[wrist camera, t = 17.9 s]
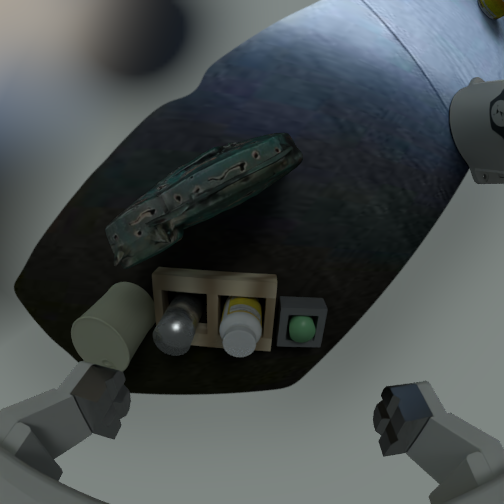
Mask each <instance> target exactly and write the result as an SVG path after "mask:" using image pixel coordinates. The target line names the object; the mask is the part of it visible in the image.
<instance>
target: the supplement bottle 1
mask: <svg viewBox="0 0 504 504" xmlns="http://www.w3.org/2000/svg"><path fill="white" fill-rule="evenodd" d="M219 332H220V336H221V338H222V340H223V347H224V349H225V351H226V352H227V353H228V354H230V355H232V356H235V357H245V356H248V355H250V354H251V353H252V352H253V351H254V350H255V348H256V343H257V342H258V341H259V339H260V337H261V334H262V317H261V304H260V301H259V300H258V298H257V297H242V296H229V297H228V298H227V300H226V302H225V305H224V309H223V314H222V318H221V323H220V328H219Z"/></svg>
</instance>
